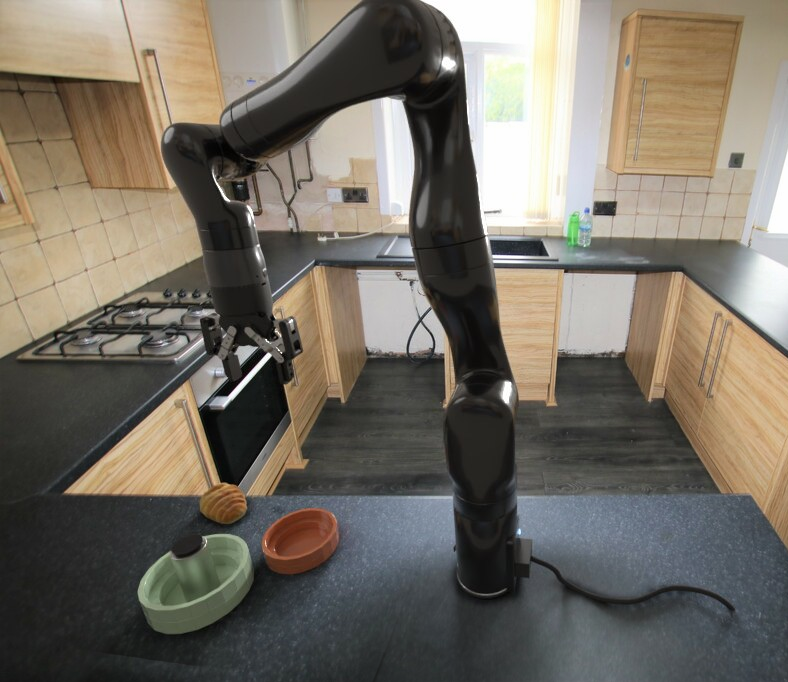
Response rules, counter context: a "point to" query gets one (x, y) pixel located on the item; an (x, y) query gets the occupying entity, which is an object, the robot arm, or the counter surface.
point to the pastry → (223, 503)
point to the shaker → (194, 567)
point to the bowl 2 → (300, 541)
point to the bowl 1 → (180, 616)
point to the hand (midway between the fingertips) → (261, 380)
